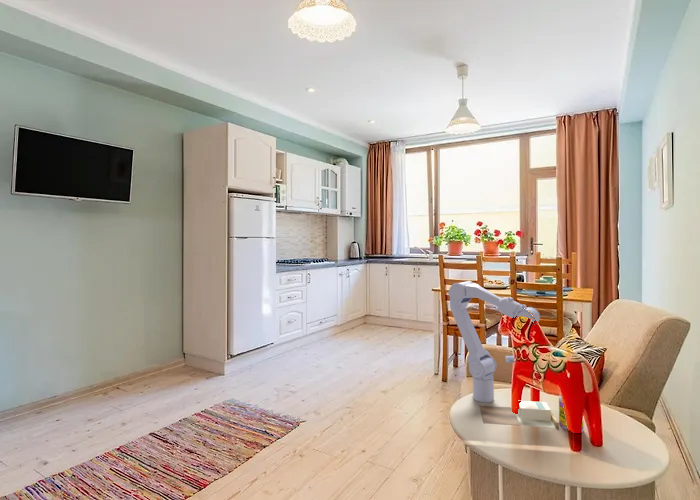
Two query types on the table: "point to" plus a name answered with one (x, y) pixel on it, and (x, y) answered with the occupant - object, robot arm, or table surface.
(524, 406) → the carton
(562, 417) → the supplement bottle
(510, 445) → the table surface
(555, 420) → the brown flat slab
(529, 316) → the robot arm
